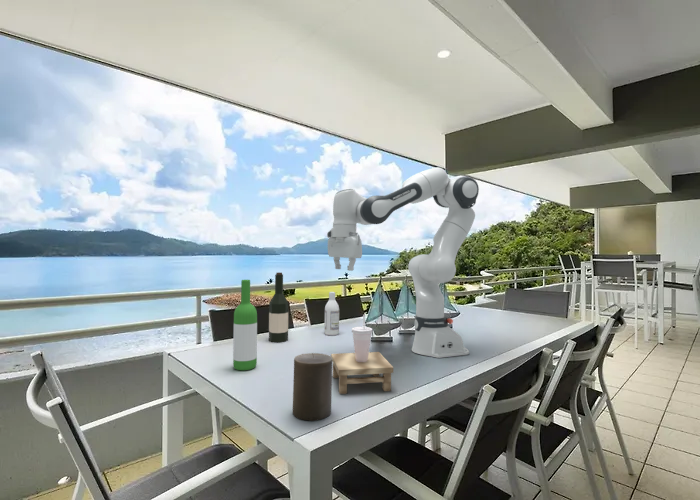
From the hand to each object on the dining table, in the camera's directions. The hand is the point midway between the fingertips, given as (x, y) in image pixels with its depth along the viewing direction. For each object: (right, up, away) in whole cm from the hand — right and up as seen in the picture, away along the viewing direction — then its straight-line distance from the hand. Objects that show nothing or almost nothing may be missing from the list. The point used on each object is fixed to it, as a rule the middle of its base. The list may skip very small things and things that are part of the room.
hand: (344, 269), depth 139 cm
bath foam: (-6, -33, +39) cm, 51 cm away
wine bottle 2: (-29, -33, +25) cm, 51 cm away
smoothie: (+6, -27, -25) cm, 37 cm away
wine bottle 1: (-34, -33, -12) cm, 49 cm away
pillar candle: (-7, -34, -45) cm, 57 cm away
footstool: (+5, -33, -25) cm, 42 cm away
